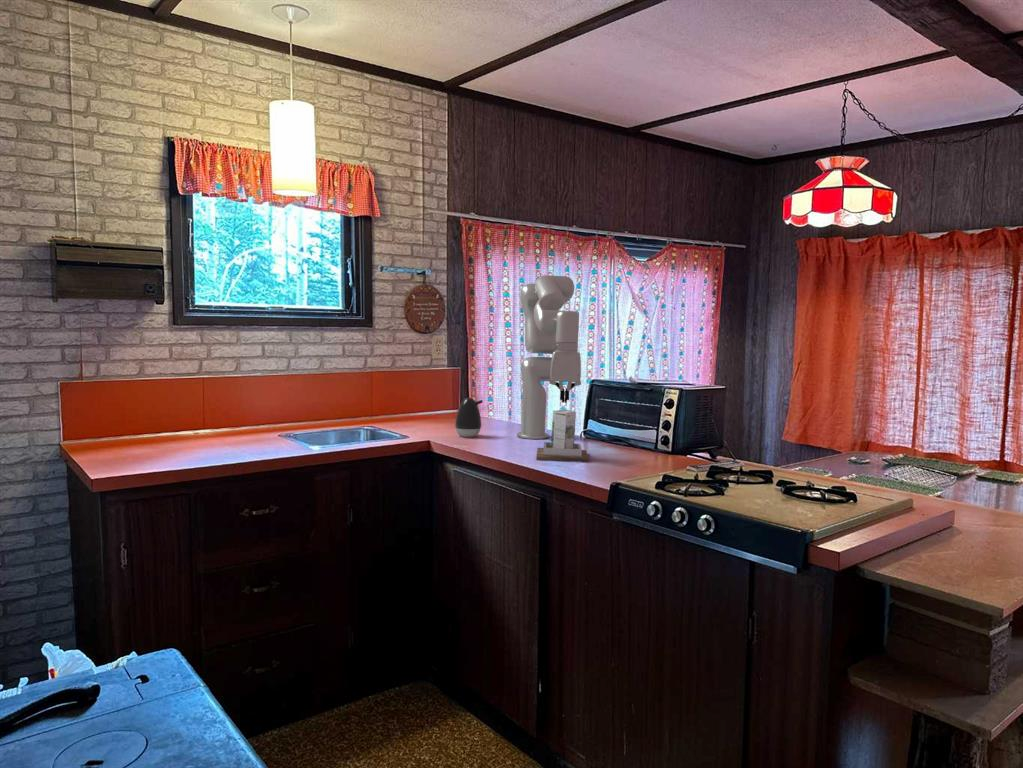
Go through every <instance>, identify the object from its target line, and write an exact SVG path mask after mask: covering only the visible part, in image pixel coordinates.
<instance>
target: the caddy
mask: <svg viewBox="0 0 1023 768" xmlns="http://www.w3.org/2000/svg"><path fill="white" fill-rule="evenodd" d="M535 457H536V459H535V460H536V461H548V460H555V461H554V462H570V461H582V462H581V463H589V455H588V452H587V449H582V445H581V443H576V442H574V449H564V448H551V441H549V442H548V441H544V442H543V447H537V450H536V456H535Z"/></svg>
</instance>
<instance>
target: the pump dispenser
mask: <svg viewBox="0 0 1023 768" xmlns="http://www.w3.org/2000/svg"><path fill="white" fill-rule="evenodd" d="M483 402H484V401H483V400H482V399H481V400H477V401H476V400H475V399H474V398H473V397H465V398H464V399H462V402H461V403H460V405H459V408H458V409H457V413H456V417H455V423H454V428H455V430H456V433H457V435H459V436H460V437H462V438H475V437H477V436H478V435H479V434H480V431H481V428H482V417H481V412H480V409H479V406H478V405H480V404H483Z"/></svg>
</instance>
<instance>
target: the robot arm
mask: <svg viewBox="0 0 1023 768" xmlns="http://www.w3.org/2000/svg"><path fill="white" fill-rule="evenodd" d="M519 293H520V295H519V296H520V305H521V309H522V312H523V315H524V347H525V351H527V352H528V353H531V354H540V355H541V354H544V355H545V354H546V355H547V354H548V355H549V354H550V355H551V357H548V356H529V357H526V358H524V359H523V360H522V361H521V364H520V370H521V381H522V382H521V383H522V384H521V385H522V389H521V390H522V393H521V397H522V399H521V400H522V401H521V422H520V423H521V424H520V425H521V426H520V432H519V431H518V432H517V433H516V436H517V437H518V438H522V439H529V440H545V439H548V438H549V437H550V435H549V434H548V433H546V422H547V421H546V420H547V418H546V417H547V416H546V415H547V390H546V389H545V387H544V386H543V384H542V382H548V383H549V385H552V386H556V387H557V388H558V389H559V391H560V393H559V394H560V395H559V400H560V401H561V403H565V404H566V403H568V401H570V391H571V390H572V389H573V388H574V387H579V386H581V385H582V380H581V378H582V357H581V353H580V352H578V351H579V325H580V314H579V313H578V312H577V311H576V310H575V311H573V310H560V309H562V308H563V306H564V305H566V304H567V302H569V301H570V300H571V299H572V297H574V294H575V284H574V281H573V279H572V278H571V277H570V276H566V275H554V274H553V275H550V274H548V275H547V274H545V275H541V276H540V277H538V278H537V279H536V280H535V283H526V284H524V285H523V286H522V287H521V289H520V292H519ZM564 383H567V385H566V388H564Z"/></svg>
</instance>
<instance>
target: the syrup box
mask: <svg viewBox="0 0 1023 768" xmlns="http://www.w3.org/2000/svg"><path fill="white" fill-rule="evenodd" d="M576 413H577V412H576V411H574V410H571V409H558V410H552V419H551V422H552V423H551V439H550V442H551V448H564V449H574V443H575V435H576V434H575V433H576V432H575V431H576V418H577V417H576V416H577V415H576Z"/></svg>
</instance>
